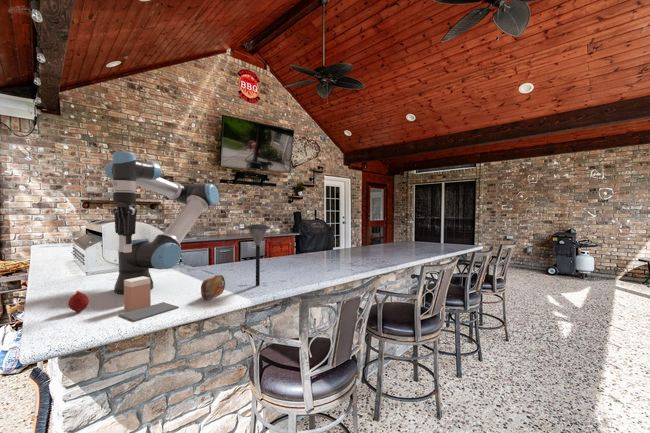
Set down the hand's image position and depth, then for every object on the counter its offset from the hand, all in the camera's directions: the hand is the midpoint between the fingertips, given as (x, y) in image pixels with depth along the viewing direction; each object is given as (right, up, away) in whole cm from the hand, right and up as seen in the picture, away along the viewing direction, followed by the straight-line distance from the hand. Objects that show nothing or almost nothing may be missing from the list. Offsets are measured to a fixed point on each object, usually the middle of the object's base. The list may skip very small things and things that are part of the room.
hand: (125, 251), depth 118 cm
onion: (-10, -21, -10) cm, 25 cm away
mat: (+14, -21, -8) cm, 27 cm away
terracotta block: (+7, -21, -4) cm, 22 cm away
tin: (+30, -21, +12) cm, 38 cm away
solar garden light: (+45, -20, +29) cm, 58 cm away
